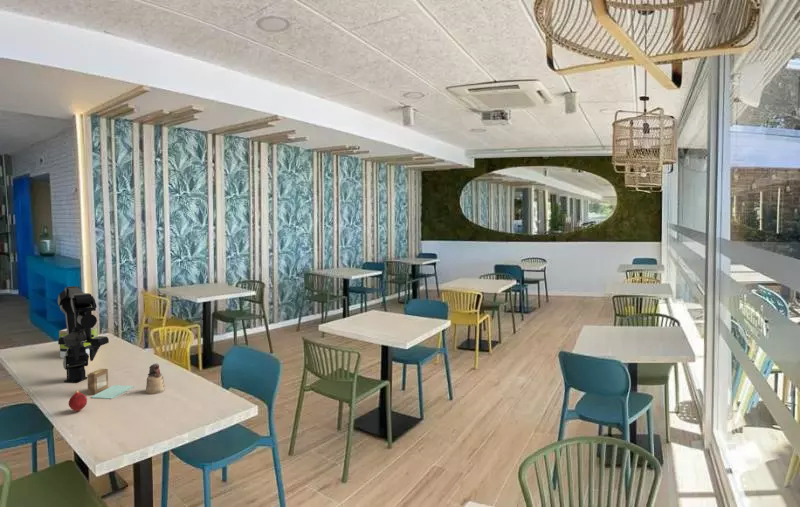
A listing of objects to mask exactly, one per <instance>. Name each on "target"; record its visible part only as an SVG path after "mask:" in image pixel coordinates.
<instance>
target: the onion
mask: <svg viewBox="0 0 800 507" xmlns="http://www.w3.org/2000/svg"><path fill="white" fill-rule="evenodd" d="M87 402H88V398H87V396H86V395H85V394H84V393H82V392H80V391H79V390H76V391H75V392H74V394H73V395H72V396H71V397H70V398H69V401H68V407H69V408H70V409H72V410H73V411H75V412H80V411H82V410H83V409H84V408H85V407H86V405H87Z"/></svg>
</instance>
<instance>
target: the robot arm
mask: <svg viewBox="0 0 800 507" xmlns="http://www.w3.org/2000/svg"><path fill="white" fill-rule="evenodd" d="M57 304H58V305H57V306H59V309H60V311H61V312H62V313H63V314H64V315H65V316H64V317H65V324H66V329H67V334H68V335H66V336H63V337H60V338H59V337H58V339H57V343H58V345H60V344H61V345H64V346H65V347H68V349H67V351H66V353H65V356H64V358H63V360H62V367H63V369H64V370H66V379H65V380H63V381H64V383H75V384H76V383H80V382H82V381H84V380H88V377H87V376H86V374H87V373H86V368H85V367H89V366H88V365H89V361H90V362H93V360H95V357H96V354H97V353H98V352H99V351H98V349H100V348H101V346H103V345H107V344H109V342H110V341H109V338H108V336H104V335H102V336H101V335H100V336H98V337H96V338H92V337H94V335H92V334H91V328H93V326H95V325H97V323H98V319H97V317H96V316H95V315H94V314H93V312H94V311H96V310H97V303H96V300H95V298H94V296H93V295H92V294H91V293H88V292H87V293H85V292H83V291H82V289H80V286H78V285H75V286H74V285H72V286H71V285H70V286H67V287H65V288H64V290H62V291H61V292H60V293H59V294H58V297H57ZM85 340H87V341H85ZM80 342H81V343H90V344H91V345H90V346H87V347H88V348H89V350H90V354H89V355H88V354H87V353H86V349H85V347H84V346H82V345H81V343H80Z"/></svg>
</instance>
